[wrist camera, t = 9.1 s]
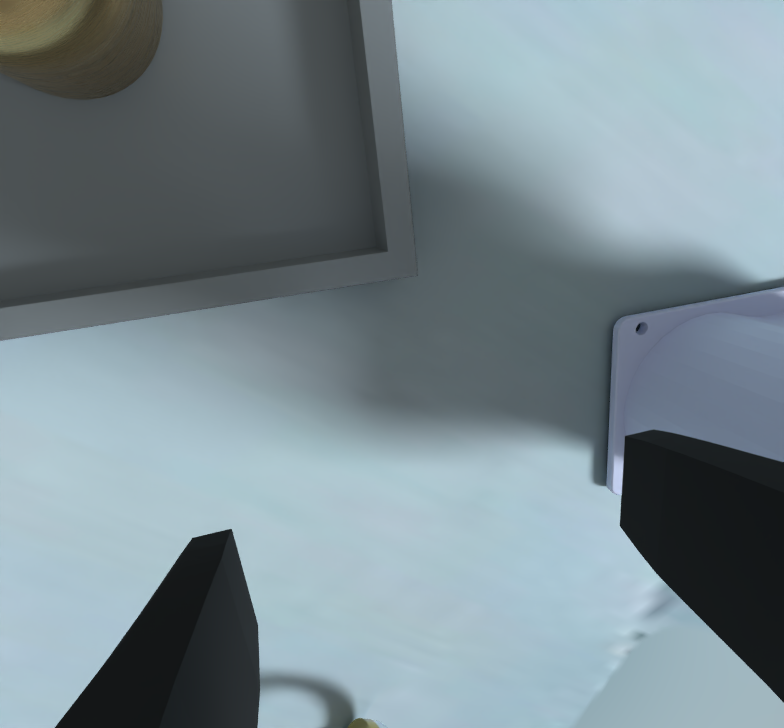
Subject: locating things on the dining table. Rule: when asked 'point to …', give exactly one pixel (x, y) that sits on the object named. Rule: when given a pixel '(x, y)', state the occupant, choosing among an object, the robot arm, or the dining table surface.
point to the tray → (210, 170)
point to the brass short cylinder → (78, 44)
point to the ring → (366, 723)
